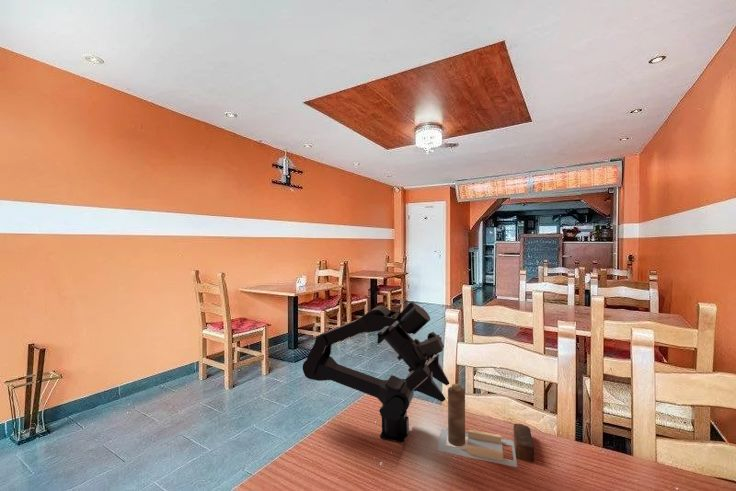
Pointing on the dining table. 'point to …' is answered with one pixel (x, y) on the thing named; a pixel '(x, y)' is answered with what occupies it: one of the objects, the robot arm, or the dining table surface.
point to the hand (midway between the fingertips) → (446, 392)
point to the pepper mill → (456, 415)
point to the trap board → (478, 447)
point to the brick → (523, 442)
